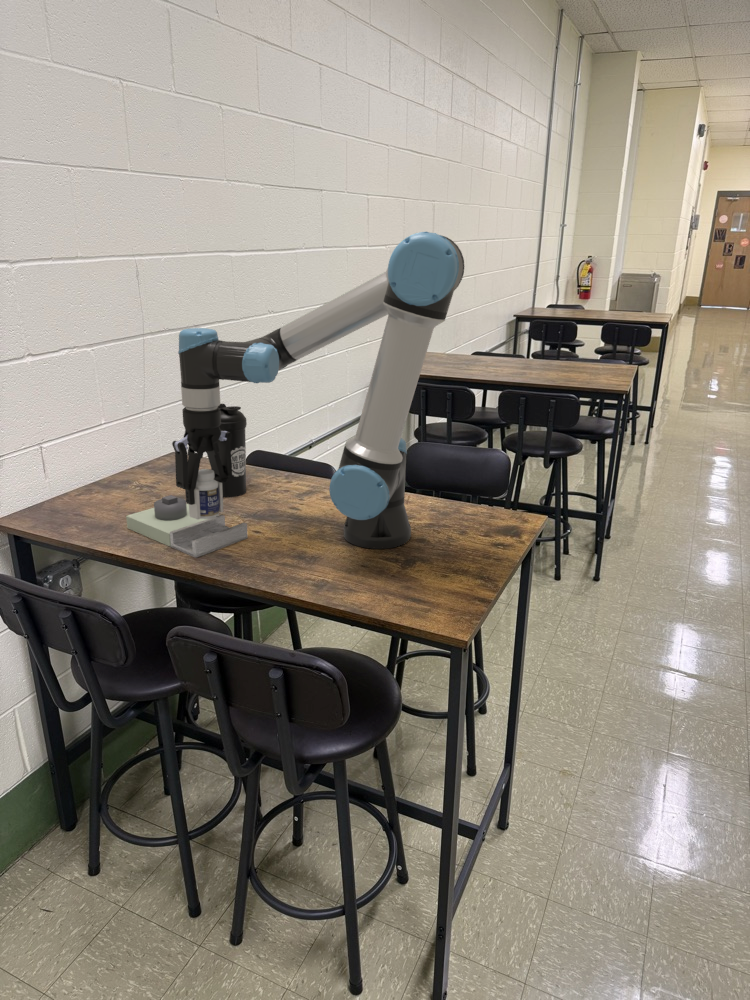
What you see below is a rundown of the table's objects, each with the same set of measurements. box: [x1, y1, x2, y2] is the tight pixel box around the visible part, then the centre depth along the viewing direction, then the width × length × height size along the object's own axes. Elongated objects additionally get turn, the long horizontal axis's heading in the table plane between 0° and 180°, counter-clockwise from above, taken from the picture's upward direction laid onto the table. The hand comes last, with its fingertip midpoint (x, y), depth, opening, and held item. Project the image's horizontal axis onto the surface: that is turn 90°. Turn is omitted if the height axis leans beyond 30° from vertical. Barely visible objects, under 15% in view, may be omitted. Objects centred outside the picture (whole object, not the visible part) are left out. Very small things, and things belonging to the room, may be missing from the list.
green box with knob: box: [125, 494, 220, 548], centre depth 155 cm, size 16×14×7 cm
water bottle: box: [210, 403, 247, 498], centre depth 177 cm, size 10×10×23 cm
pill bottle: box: [196, 468, 220, 519], centre depth 146 cm, size 5×5×10 cm
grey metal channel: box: [170, 514, 249, 559], centre depth 149 cm, size 8×14×4 cm, turn 142°
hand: (206, 513), depth 147 cm, fingers closed on pill bottle, 5 cm apart
